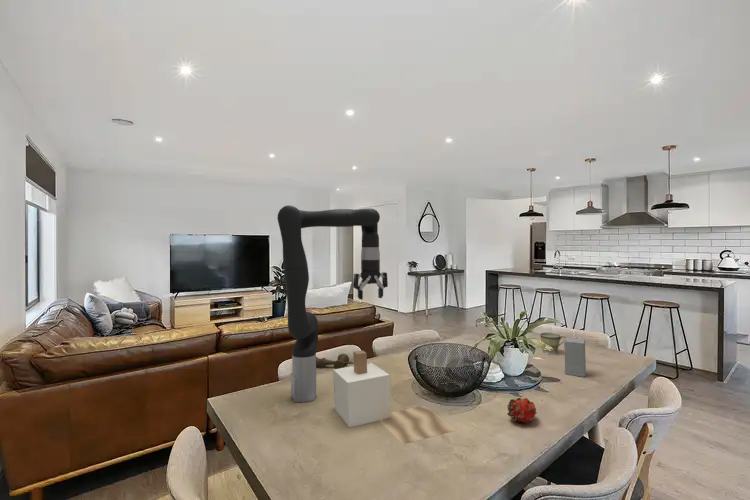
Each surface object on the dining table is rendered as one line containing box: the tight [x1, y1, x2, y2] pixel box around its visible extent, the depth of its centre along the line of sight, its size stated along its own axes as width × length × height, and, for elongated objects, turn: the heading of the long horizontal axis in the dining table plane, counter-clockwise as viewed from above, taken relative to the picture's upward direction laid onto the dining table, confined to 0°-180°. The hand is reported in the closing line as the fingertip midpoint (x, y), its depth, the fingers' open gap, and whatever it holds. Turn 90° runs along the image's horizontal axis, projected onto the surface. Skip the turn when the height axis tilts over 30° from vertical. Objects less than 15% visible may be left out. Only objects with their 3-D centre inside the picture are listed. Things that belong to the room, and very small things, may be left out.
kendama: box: [316, 353, 354, 370], centre depth 183 cm, size 6×10×20 cm
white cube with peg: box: [332, 350, 392, 428], centre depth 133 cm, size 15×15×22 cm
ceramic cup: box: [540, 332, 567, 355], centre depth 205 cm, size 13×10×10 cm
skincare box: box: [563, 337, 587, 378], centre depth 173 cm, size 8×7×16 cm
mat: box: [378, 405, 457, 445], centre depth 126 cm, size 20×20×1 cm
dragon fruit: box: [507, 397, 538, 425], centre depth 129 cm, size 8×8×12 cm
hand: (370, 298), depth 153 cm, fingers open, 8 cm apart
